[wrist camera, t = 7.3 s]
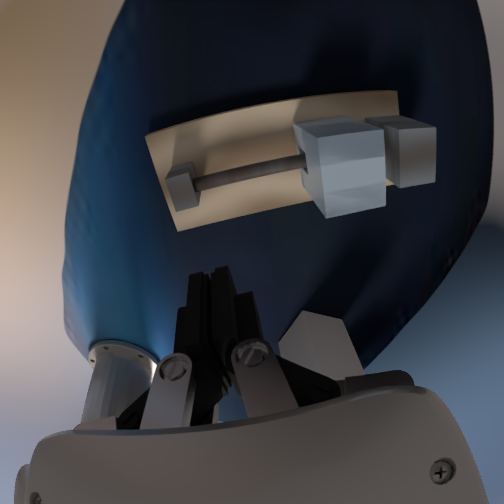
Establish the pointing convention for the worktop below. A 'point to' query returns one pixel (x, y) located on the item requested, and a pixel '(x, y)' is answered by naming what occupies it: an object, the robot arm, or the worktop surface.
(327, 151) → the sleeve
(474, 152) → the worktop surface
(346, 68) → the worktop surface
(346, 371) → the milk carton
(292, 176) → the slider mechanism
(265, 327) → the worktop surface
